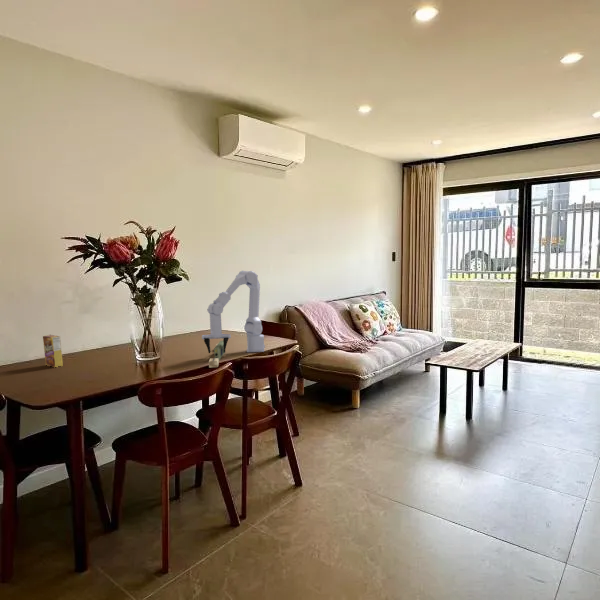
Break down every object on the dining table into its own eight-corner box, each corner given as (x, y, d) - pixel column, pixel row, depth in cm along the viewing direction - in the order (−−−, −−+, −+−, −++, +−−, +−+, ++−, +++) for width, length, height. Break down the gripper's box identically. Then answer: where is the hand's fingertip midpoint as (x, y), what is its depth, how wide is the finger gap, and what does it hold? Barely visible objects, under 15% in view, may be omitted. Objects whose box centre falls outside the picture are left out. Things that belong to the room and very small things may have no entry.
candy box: (44, 366, 228) (42, 335, 226) (53, 364, 231) (50, 334, 230) (54, 368, 223) (52, 337, 221) (63, 366, 226) (60, 335, 225)
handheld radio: (226, 352, 250) (218, 363, 225) (220, 352, 250) (211, 363, 225) (225, 340, 249) (217, 350, 224) (219, 340, 249) (210, 350, 224)
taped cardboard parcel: (224, 348, 258) (223, 343, 258) (217, 367, 216) (217, 360, 216) (216, 348, 258) (216, 343, 257) (209, 367, 216) (208, 361, 216)
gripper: (200, 328, 231) (201, 354, 232) (229, 327, 232) (230, 353, 233) (202, 326, 238) (203, 351, 239) (230, 325, 239) (231, 350, 240)
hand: (217, 352), depth 237 cm, fingers open, 7 cm apart
